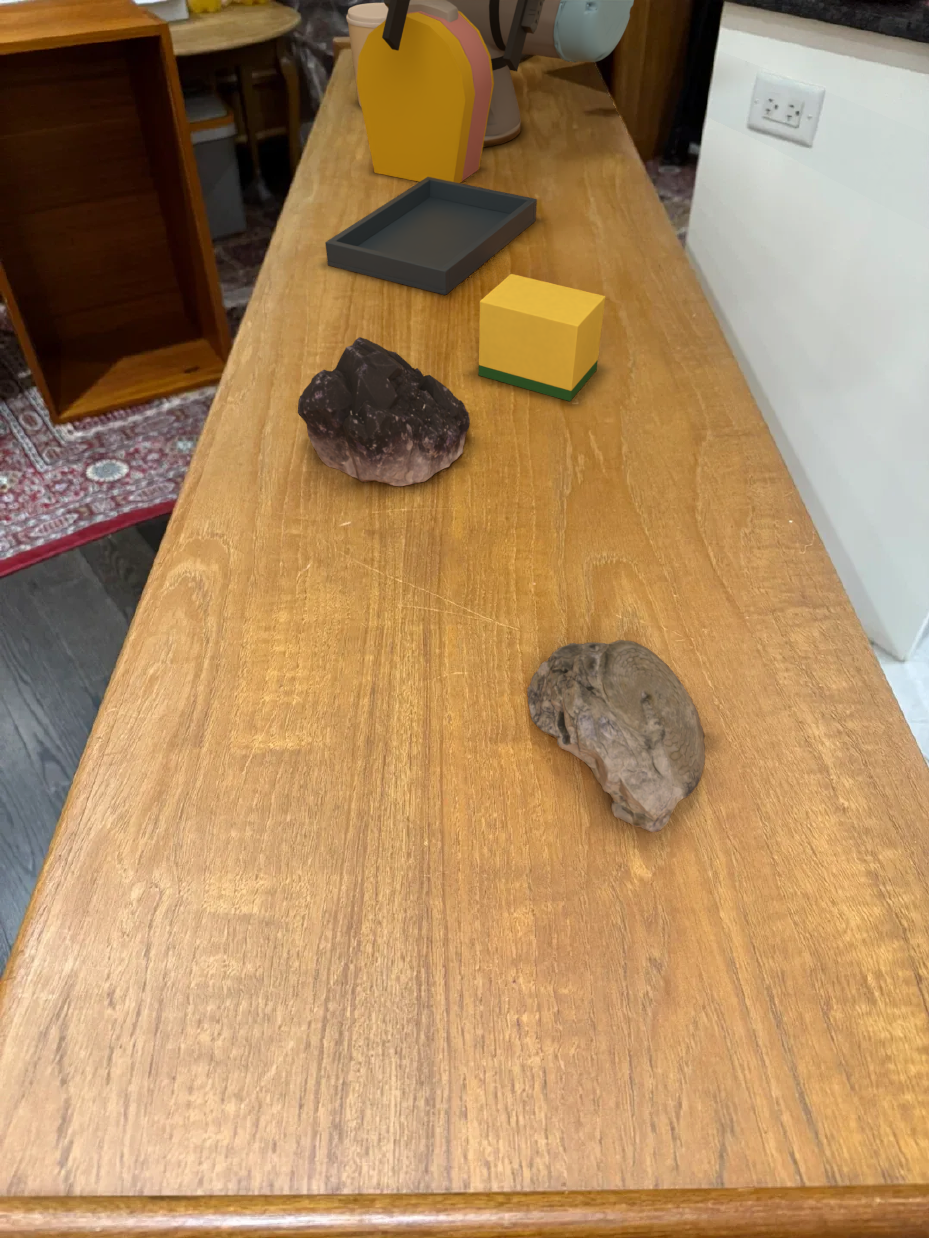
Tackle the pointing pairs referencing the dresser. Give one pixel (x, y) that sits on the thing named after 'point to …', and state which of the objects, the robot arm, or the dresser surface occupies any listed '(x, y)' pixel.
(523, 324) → the sponge
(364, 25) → the coffee cup
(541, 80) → the dresser surface
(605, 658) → the fossilized seashell
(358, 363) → the crystal cluster
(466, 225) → the tray
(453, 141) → the yellow arched slab
